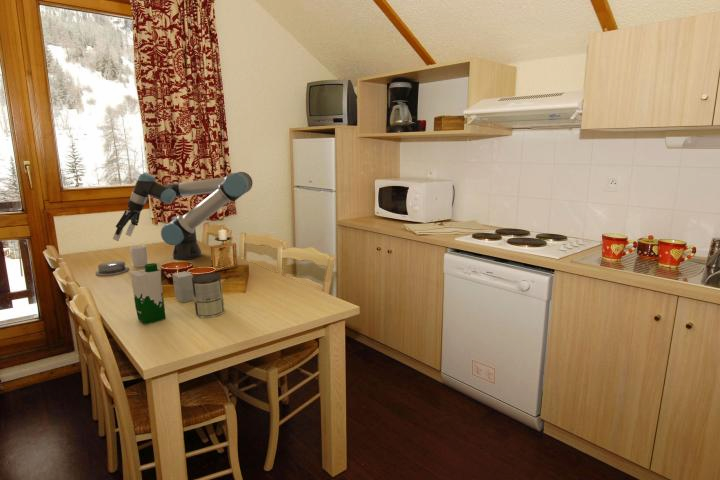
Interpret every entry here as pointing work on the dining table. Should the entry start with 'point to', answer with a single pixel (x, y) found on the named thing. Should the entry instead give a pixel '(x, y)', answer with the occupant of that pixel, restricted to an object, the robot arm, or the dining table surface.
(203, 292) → the coffee can
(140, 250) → the white cup
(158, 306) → the milk carton
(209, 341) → the dining table surface
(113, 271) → the grey round shallow piece
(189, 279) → the small box
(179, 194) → the robot arm
